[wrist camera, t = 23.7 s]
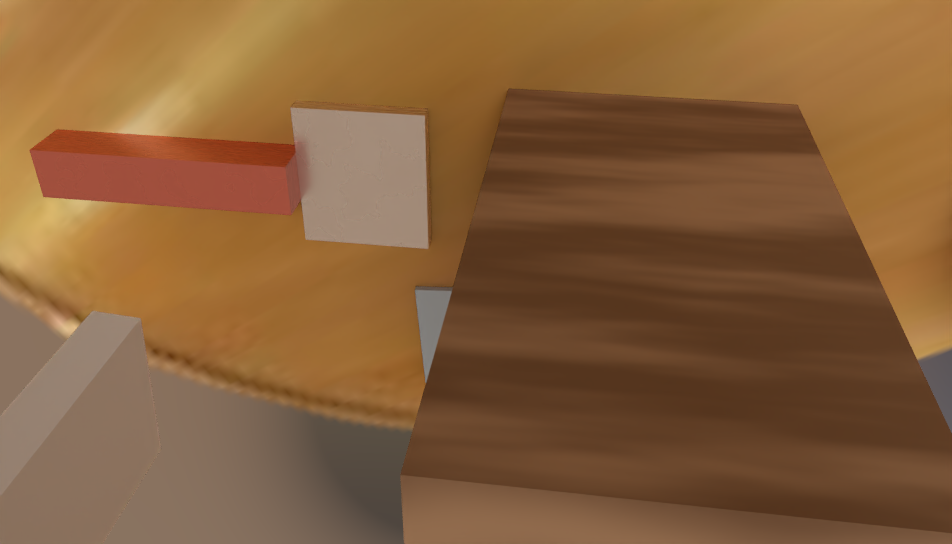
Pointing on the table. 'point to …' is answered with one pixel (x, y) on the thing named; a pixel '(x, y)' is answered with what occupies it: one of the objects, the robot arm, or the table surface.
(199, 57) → the table surface
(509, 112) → the stand
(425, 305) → the tile
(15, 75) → the table surface
